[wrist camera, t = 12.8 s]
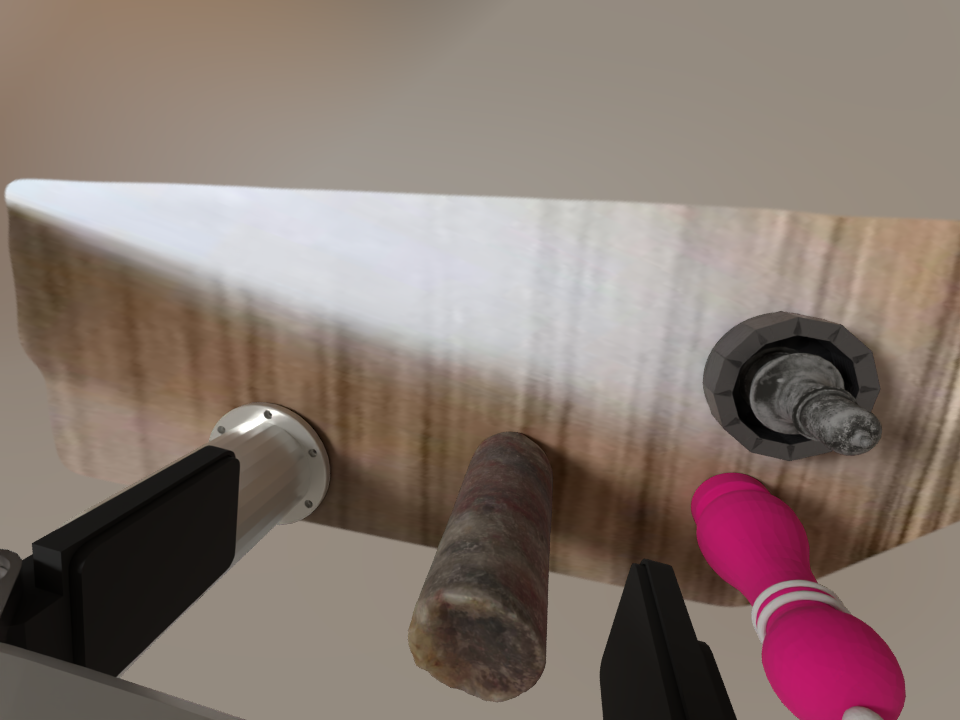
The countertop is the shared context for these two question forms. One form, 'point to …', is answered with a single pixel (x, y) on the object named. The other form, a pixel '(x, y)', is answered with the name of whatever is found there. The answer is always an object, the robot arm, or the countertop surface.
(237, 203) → the countertop surface
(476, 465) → the candle
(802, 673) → the pepper mill
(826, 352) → the dark gray faceted bowl
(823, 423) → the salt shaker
